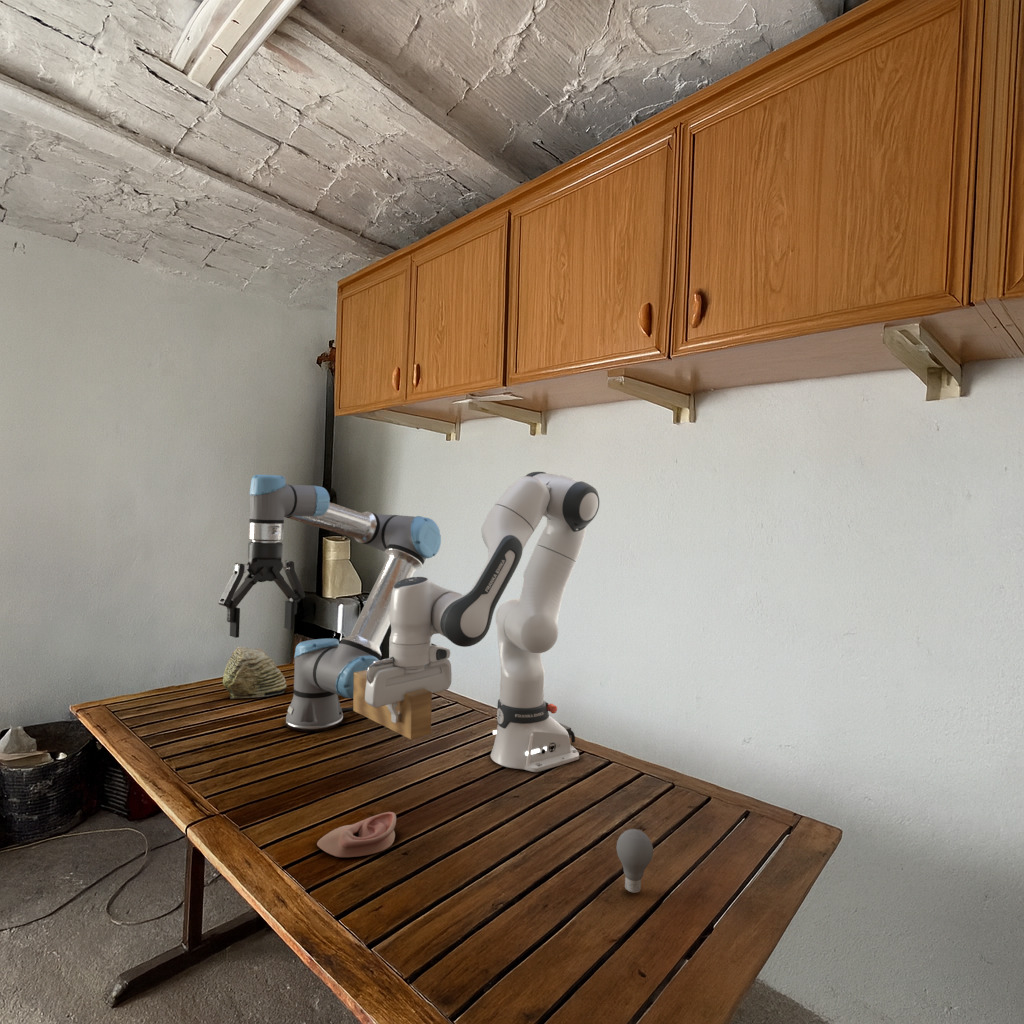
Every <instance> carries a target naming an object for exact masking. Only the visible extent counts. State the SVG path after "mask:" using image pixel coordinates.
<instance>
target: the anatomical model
mask: <svg viewBox="0 0 1024 1024" xmlns="http://www.w3.org/2000/svg"><path fill="white" fill-rule="evenodd" d="M396 824H397V814H396V813H395V812H393V811H387V812H382V813H379V814H376V815H373V816H370V817H367V818H365V819H363V820H360V821H358V822H354V823H352V824H346V825H342V826H339V827H337V828H334V829H332V830H331V831H329V832H328V833H326V834H324V835H323V836H322V837H321V838H320V839H319V840H317V842H316V845H317V847H318V848H319V849H320V850H322V851H323V852H325V853H327V854H329V855H331V856H334V857H336V858H354V857H355V858H356V857H364V856H369V855H374V854H377V853H379V852H383V851H385V850H386V849H388V848H390V847H391V846H392V845H393V844H394V842H395V838H396V832H395V827H396Z"/></svg>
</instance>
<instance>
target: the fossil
mask: <svg viewBox="0 0 1024 1024" xmlns="http://www.w3.org/2000/svg"><path fill="white" fill-rule="evenodd" d="M222 676H223V677H222V685H223V687H224V688H225V690H226V691H228V693H229V698H230V699H250V698H264V697H271V696H275V695H281V694H284V693H285V691H286V689H287V687H288V686H287V680H286V678H285V676H284V674H283V673H282V672H281V669H279V668H278V667H277V665H276V663H275V662H274V660H273V659H272V658H271V657H270V656H269V655H268V654H267V653H266V652H265V650H264V649H263V648H260V647H258V648H251V647H247V646H246V647H245V646H238V647H237V648H236V649H235V650H233V651H232V653H231V656H230V657H229V659H228V660H227V663H226V666H225V668H224V671H223V675H222Z"/></svg>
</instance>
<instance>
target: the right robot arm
mask: <svg viewBox="0 0 1024 1024" xmlns="http://www.w3.org/2000/svg"><path fill="white" fill-rule="evenodd" d="M599 509H600V497H599V493H598V490H597V489H596V488H595V487H594V486H593V485H591V484H589V483H587V482H586V481H580V480H577V479H576V478H573V477H569V476H566V475H561V474H560V475H558V474H554V473H553V474H552V473H547V472H545V471H532V472H529V473H527V474H526V475H524V476H520V477H519V478H517V479H516V480H515V481H514V482H513V483H512V484H511V485H510V486H508V488H507V489H506V490H505V491H504V492H503V494H501V496H500V497H499V498H498V500H497V501H496V502H495V503H494V505H493V506H492V507H491V509H490V510H489V512H488V513H487V515H486V516H485V519H484V521H483V523H482V526H481V533H480V534H481V538H482V541H483V544H484V545H485V546H486V548H487V552H488V556H487V559H486V561H485V564H484V565H483V568H482V569H481V571H480V572H479V574H478V576H477V578H476V580H475V581H474V583H473V584H472V586H471V588H470V590H468V591H467V592H466V593H464V594H462V593H460V592H456V591H454V590H451V589H447V588H444V587H442V586H439V585H438V584H436V583H434V582H433V581H431V580H429V578H428V577H424V576H412V577H411V578H406V579H403V580H401V581H399V582H397V583H396V584H395V585H394V587H393V590H392V595H391V602H390V630H391V631H390V635H389V639H388V641H389V643H388V644H389V646H388V654H389V655H388V657H387V658H383V659H380V660H376V661H374V662H373V663H372V664H371V665H370V666H369V667H368V669H367V682H366V689H365V701H366V702H367V704H368V705H370V706H372V707H375V708H377V707H381V706H385V705H387V708H388V709H389V711H390V713H391V721H392V722H393V723H397V722H401V713H399V712H397V710H396V708H395V707H398V702H400V701H404V694H405V693H409V692H413V691H417V690H421V689H426V690H428V691H431V692H432V694H435V693H439V692H442V691H447V690H449V689H450V687H451V685H452V678H453V677H452V675H453V673H452V663H451V661H450V657H451V649H449V648H447V647H444V646H441V645H438V644H435V643H432V637H433V635H437V634H439V635H441V636H443V637H444V638H446V639H448V641H450V642H451V643H452V644H454V645H455V646H457V647H462V648H467V647H472V646H475V645H477V644H478V643H480V642H482V640H483V639H484V638H486V636H487V635H488V632H489V630H490V627H491V625H492V620H493V617H494V619H495V625H496V629H497V630H496V632H497V645H498V655H499V664H500V666H499V667H500V681H499V699H498V700H497V708H496V723H497V724H496V725H497V727H496V730H492V735H495V736H494V737H495V738H494V743H493V746H492V749H491V752H490V759H491V760H492V761H493V762H494V763H496V764H497V765H500V766H501V767H505V768H510V769H517V770H525V771H528V772H531V773H540V772H542V771H543V772H544V771H546V770H549V769H552V768H556V767H559V766H563V765H565V764H569V763H573V762H575V761H578V760H579V759H580V753H579V751H578V750H577V749H576V748H575V747H574V746H573V745H572V744H571V743H573V744H574V743H576V735H575V733H574V731H573V730H572V727H569V726H567V725H565V724H563V723H561V722H558V721H557V720H556V719H554V718H553V717H552V716H551V715H550V713H551V714H553V715H554V714H556V713H557V712H558V706H556V705H555V704H553V703H549V702H548V701H545V700H544V696H545V676H546V671H545V667H544V663H543V660H542V654H544V653H546V652H548V651H549V650H551V649H552V648H553V647H554V645H555V644H556V643H557V640H558V637H559V627H558V623H559V617H560V616H559V615H560V612H561V611H560V610H561V606H562V601H563V597H564V593H565V590H566V587H567V584H568V582H569V580H570V578H571V576H572V573H573V571H574V568H575V566H576V564H577V560H578V559H579V556H580V555H581V554H580V553H581V551H582V547H583V545H584V541H585V537H586V531H587V526H588V525H589V524H590V523H591V522H592V521H593V520H594V519H595V517H596V516H597V514H598V512H599ZM543 518H545V519H546V525H545V527H544V529H542V532H541V534H540V536H539V537H538V540H537V542H536V544H535V547H534V549H533V551H532V553H531V555H530V557H529V560H528V562H527V564H526V566H525V569H524V572H523V582H522V587H521V591H520V592H521V593H520V597H519V598H511V599H510V598H509V599H507V600H504V601H503V602H502V603H501V604H499V606H498V607H497V605H498V603H499V601H500V599H501V597H502V595H503V594H504V593H505V590H506V588H507V587H508V584H509V582H510V581H511V579H512V577H513V576H514V573H515V571H516V570H517V568H518V566H519V564H520V561H521V559H522V557H523V551H524V549H525V547H526V545H527V543H528V542H529V540H530V538H531V537H532V535H533V534H534V532H535V531H536V529H537V528H538V526H539V524H540V522H541V520H542V519H543ZM496 607H497V609H496ZM495 609H496V610H495ZM494 612H495V616H494ZM373 665H374V666H373ZM549 712H550V713H549Z"/></svg>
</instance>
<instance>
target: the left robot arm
mask: <svg viewBox="0 0 1024 1024" xmlns="http://www.w3.org/2000/svg"><path fill="white" fill-rule="evenodd" d="M250 479H251V480H250V486H249V487H250V488H249V517H248V518H249V520H248V522H249V523H248V540H250V541H249V542H248V544H247V559H248V561H247V563H240V562H235V563H234V565H233V571H232V574H231V575H230V578H229V579H228V582H227V583H226V586H225V587H224V589H223V592H222V593H221V596H220V598H219V600H218V602H217V603H218V605H220V606H223V607H225V608H226V622H227V623H229V636H230V637H232V638H235V639H236V638H240V622H241V621H240V620H241V619H240V618H241V608H240V607H238V606H239V604H240V603H241V602H242V600H243V599H244V598H245V597H246V595H248V593H249V592H250V590H251V589H252V588H253V587H254V586H255V585H256V584H258V583H265V582H274V583H275V584H276V586H277V587H278V588H279V589H280V591H281V592H282V593H283V594H284V595H285V597H286V598H287V599H288V600H284V601H285V602H284V603H285V604H284V626H283V628H284V629H286V630H290V631H292V630H294V625H295V615H297V612H298V603H299V602H301V599H304V598H305V597H306V594H305V592H304V591H305V590H304V589H303V586H302V584H301V582H300V580H299V577H298V575H297V572H296V570H295V562H294V561H293V560H288V559H286V560H285V561H283V560H282V559H283V556H284V544H283V542H281V541H283V540H284V525H285V524H284V523H285V518H286V519H290V520H294V521H297V522H300V523H302V524H306V525H310V526H313V527H316V528H319V529H324V530H327V531H331V532H334V533H338V534H341V535H344V536H347V537H351V538H354V540H355V541H356V542H357V543H359V544H362V545H366V546H368V547H372V548H374V549H377V550H379V551H382V552H384V553H385V556H386V560H385V562H384V564H383V565H382V568H381V571H380V572H379V574H378V577H377V579H376V581H375V583H374V584H373V586H372V589H371V591H370V592H369V595H368V597H367V599H366V601H365V603H364V605H363V607H362V608H361V609H362V610H361V611H360V613H359V615H358V618H357V620H356V621H355V624H354V626H353V628H352V630H351V633H350V634H349V635H347V636H344V637H342V638H341V640H340V641H339V639H337V638H317V639H316V638H315V639H308V640H304V641H300V642H299V643H298V644H297V645H296V646H295V650H294V651H295V652H294V655H293V658H294V672H293V673H294V674H293V695H292V696H293V697H292V699H291V702H290V704H289V706H288V708H287V713H286V715H285V726H286V728H287V729H289V730H291V731H294V732H295V731H296V732H301V733H316V732H325V731H329V730H332V729H335V728H337V727H339V726H340V725H342V723H343V722H344V714H343V712H352V711H353V706H350V707H342V706H341V702H340V699H339V696H340V697H342V698H345V699H351V700H353V691H354V672H359V671H364V670H367V669H368V667H369V666H370V665H371V664H372V663H373V662H374V661H376V660H381V658H382V656H383V655H382V652H381V649H380V647H381V644H382V643H383V640H384V638H385V636H386V634H387V632H388V630H389V628H390V626H391V624H390V602H391V595H392V590H393V587H394V585H395V584H396V583H397V582H399V581H401V580H403V579H406V578H411V577H413V575H414V573H415V571H417V570H420V569H422V568H423V566H424V564H425V562H426V559H431V558H433V557H435V556H436V555H437V554H438V552H440V548H441V544H442V535H441V531H440V530H441V529H440V528H439V525H438V524H437V523H436V521H434V520H433V519H432V518H430V517H424V516H421V515H417V516H414V515H413V516H412V515H400V514H381V513H375V512H371V511H364V512H361V511H358V510H354V509H353V508H352V509H351V508H349V507H346V506H342V505H340V504H336V503H333V502H331V501H330V500H331V497H330V493H329V492H328V490H327V489H326V488H325V487H323V486H318V485H314V484H313V485H312V484H311V485H306V484H305V485H304V484H288V483H287V482H286V477H285V475H284V476H283V475H276V474H275V475H274V474H254V475H253V476H252V477H251V478H250ZM282 570H284V573H285V575H286V577H287V581H288V582H289V583H288V582H287V581H286V580H285V577H284V576H283V575H282V573H281V571H282ZM247 572H248V574H247V575H246V577H244V574H245V573H247ZM243 577H244V579H243ZM242 579H243V582H242ZM241 582H242V583H241ZM240 583H241V584H240ZM289 584H290V585H289ZM239 585H240V586H239ZM373 666H374V665H373Z"/></svg>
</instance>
